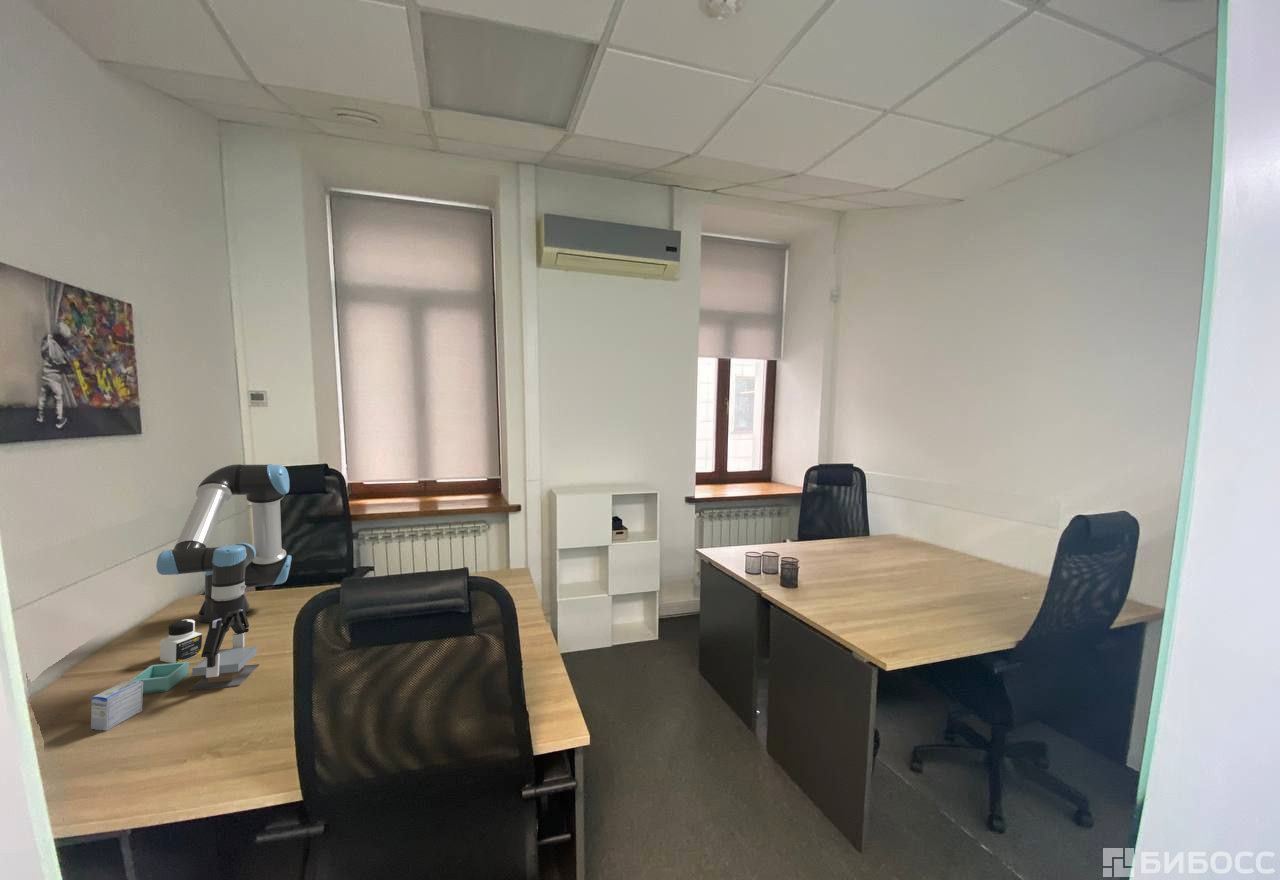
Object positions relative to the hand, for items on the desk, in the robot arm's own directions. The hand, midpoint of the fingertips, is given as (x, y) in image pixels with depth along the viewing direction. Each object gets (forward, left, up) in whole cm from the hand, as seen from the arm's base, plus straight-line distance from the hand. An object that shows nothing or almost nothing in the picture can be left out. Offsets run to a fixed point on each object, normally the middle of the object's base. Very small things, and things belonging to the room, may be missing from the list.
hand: (225, 664), depth 136 cm
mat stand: (0, 0, -4) cm, 4 cm away
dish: (0, -16, -4) cm, 17 cm away
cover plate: (0, 0, 0) cm, 0 cm away
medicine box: (+17, -15, -4) cm, 23 cm away
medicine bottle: (-17, -20, -4) cm, 27 cm away
